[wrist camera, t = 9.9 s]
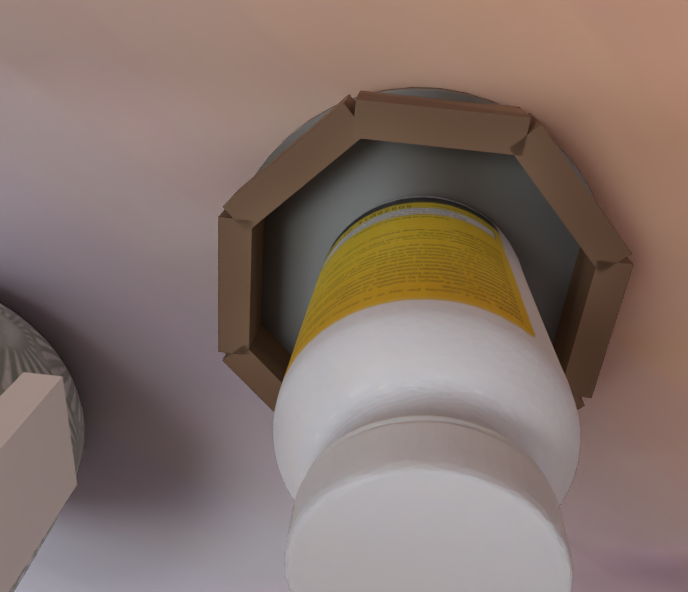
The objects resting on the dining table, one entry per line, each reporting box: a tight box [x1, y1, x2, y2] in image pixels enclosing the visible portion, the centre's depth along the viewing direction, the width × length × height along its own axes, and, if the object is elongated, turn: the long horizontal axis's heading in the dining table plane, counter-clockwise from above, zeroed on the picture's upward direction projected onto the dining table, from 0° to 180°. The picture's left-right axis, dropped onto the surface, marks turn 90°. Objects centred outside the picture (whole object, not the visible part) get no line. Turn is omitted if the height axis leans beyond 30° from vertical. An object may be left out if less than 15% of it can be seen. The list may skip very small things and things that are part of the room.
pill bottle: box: [273, 196, 580, 592], centre depth 15 cm, size 6×6×12 cm
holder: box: [218, 87, 633, 411], centre depth 20 cm, size 12×12×3 cm
